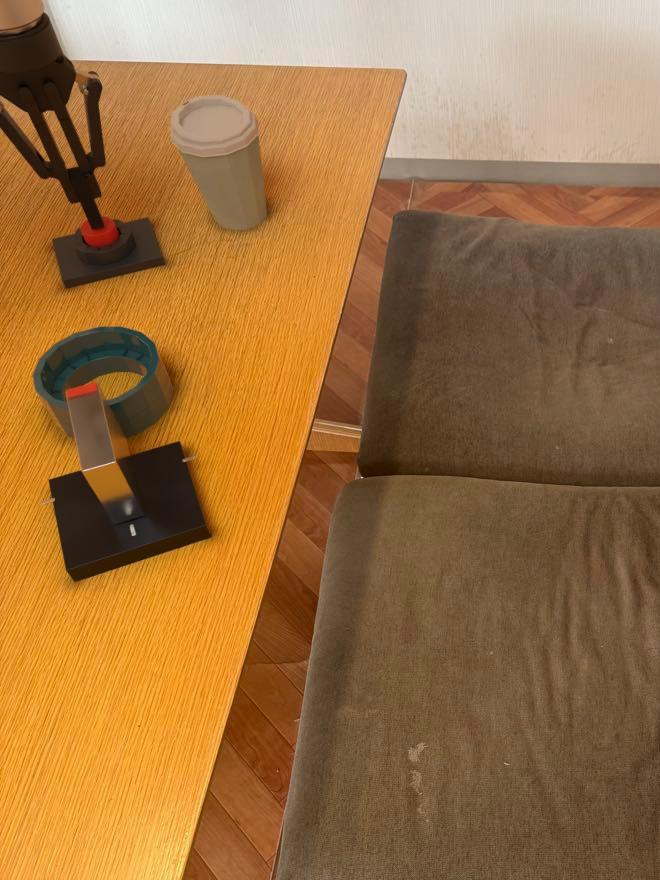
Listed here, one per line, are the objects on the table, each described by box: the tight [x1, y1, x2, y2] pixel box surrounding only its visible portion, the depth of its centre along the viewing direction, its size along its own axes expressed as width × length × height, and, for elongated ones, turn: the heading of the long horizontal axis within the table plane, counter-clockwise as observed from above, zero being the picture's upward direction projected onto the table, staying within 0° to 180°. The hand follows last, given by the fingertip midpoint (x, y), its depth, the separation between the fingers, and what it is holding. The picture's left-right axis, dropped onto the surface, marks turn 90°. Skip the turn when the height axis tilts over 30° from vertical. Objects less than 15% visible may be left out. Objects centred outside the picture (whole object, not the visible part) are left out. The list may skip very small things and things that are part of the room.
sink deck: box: [39, 440, 213, 583], centre depth 90 cm, size 15×17×3 cm
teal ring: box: [32, 325, 174, 439], centre depth 97 cm, size 13×13×6 cm
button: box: [79, 215, 119, 247], centre depth 110 cm, size 4×4×2 cm
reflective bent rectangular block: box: [65, 381, 145, 525], centre depth 86 cm, size 11×3×8 cm, turn 24°
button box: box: [51, 216, 166, 290], centre depth 112 cm, size 12×9×4 cm
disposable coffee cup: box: [169, 94, 268, 231], centre depth 113 cm, size 11×11×15 cm
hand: (96, 221), depth 109 cm, fingers closed
